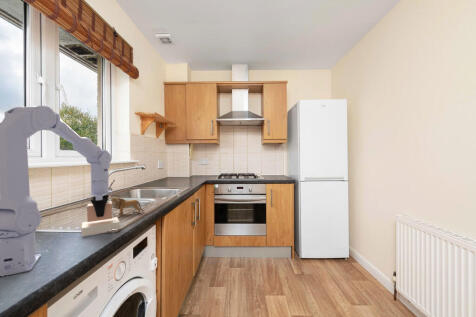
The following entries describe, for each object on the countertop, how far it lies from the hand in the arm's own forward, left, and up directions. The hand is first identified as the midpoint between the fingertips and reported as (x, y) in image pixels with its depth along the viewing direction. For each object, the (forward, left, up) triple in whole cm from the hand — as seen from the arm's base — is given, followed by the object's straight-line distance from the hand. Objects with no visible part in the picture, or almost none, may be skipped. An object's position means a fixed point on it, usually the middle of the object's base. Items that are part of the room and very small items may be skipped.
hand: (100, 215), depth 83 cm
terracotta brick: (0, 0, -2) cm, 2 cm away
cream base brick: (0, 0, -6) cm, 6 cm away
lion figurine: (+20, -10, -6) cm, 23 cm away
